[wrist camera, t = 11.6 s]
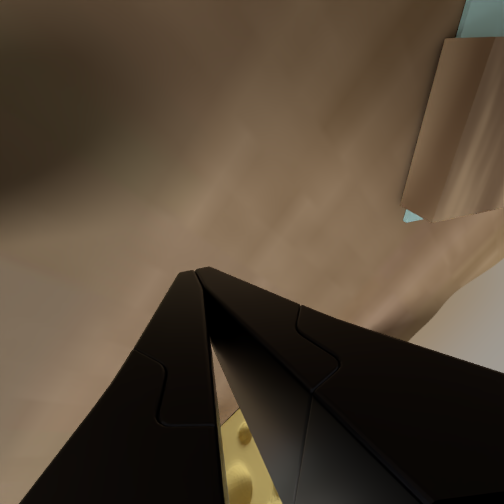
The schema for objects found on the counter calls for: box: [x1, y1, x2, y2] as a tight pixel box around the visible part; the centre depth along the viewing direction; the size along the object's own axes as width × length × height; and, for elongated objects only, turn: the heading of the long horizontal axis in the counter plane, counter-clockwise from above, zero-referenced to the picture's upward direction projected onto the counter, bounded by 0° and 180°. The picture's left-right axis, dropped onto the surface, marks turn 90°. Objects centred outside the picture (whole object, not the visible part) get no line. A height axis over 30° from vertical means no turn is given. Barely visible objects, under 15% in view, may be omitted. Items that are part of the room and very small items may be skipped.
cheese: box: [221, 408, 282, 504], centre depth 35 cm, size 10×11×10 cm
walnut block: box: [400, 37, 504, 223], centre depth 24 cm, size 4×12×12 cm
